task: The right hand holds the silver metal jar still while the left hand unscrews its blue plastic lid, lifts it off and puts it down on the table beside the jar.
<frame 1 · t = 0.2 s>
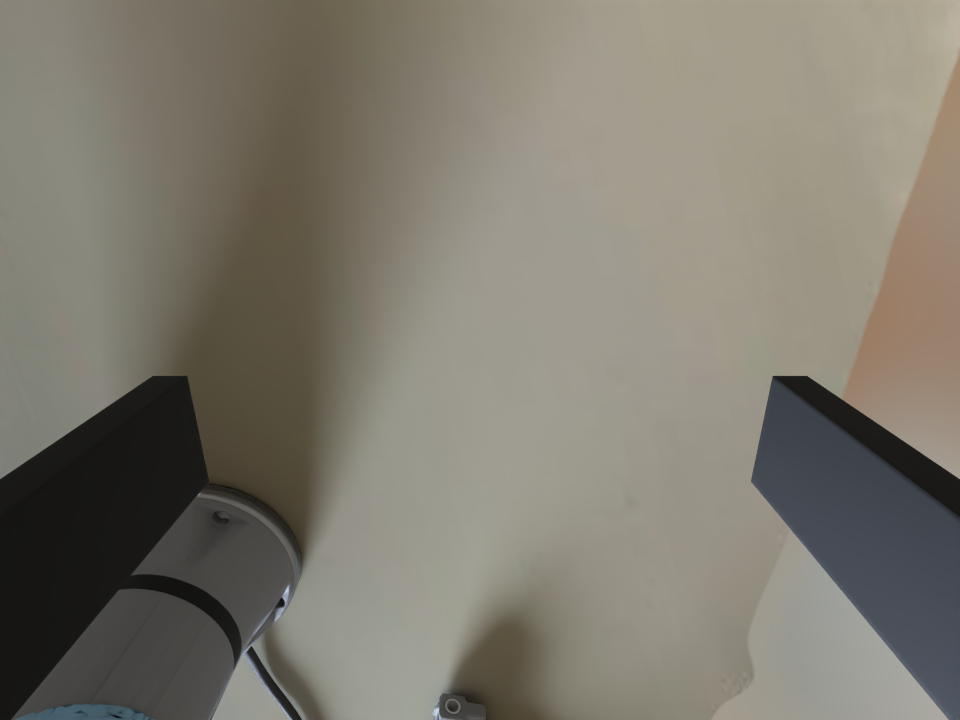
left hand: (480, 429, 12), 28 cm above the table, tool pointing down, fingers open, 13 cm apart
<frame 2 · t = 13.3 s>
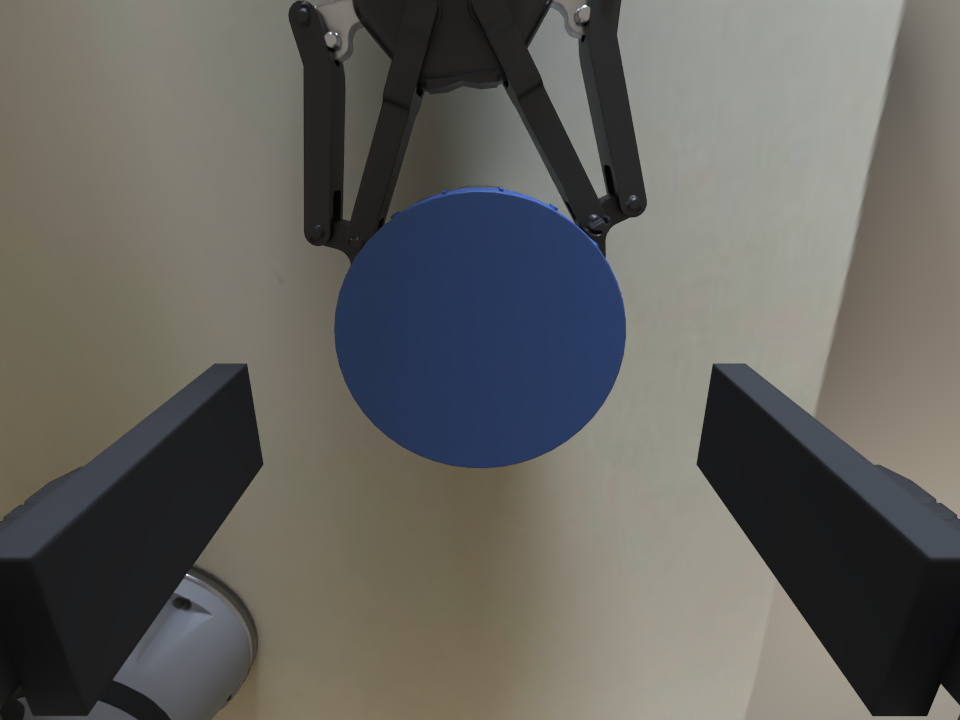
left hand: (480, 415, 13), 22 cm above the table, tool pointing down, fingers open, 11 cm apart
right hand: (487, 366, 29), fingers closed on jar, 8 cm apart
lid: (480, 339, 18), point 16 cm above the table, screwed on, not yet turned
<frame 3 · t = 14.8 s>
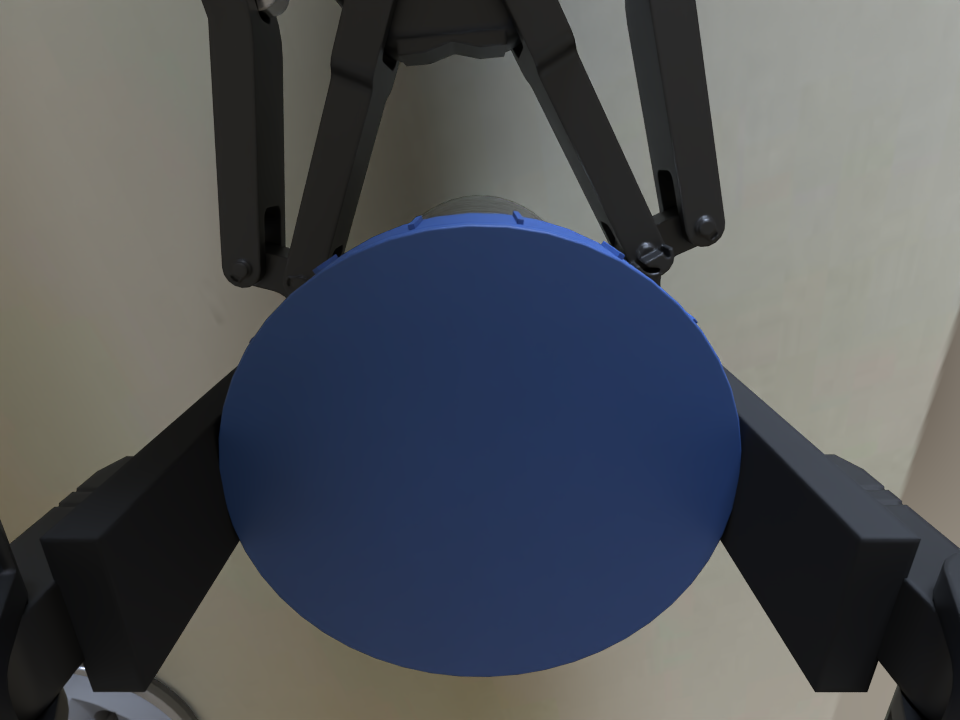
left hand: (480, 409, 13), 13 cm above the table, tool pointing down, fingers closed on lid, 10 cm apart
jar: (479, 289, 25), on the table, touching right hand
lid: (479, 478, 11), point 16 cm above the table, screwed on, not yet turned, touching left hand
when the left hand's fingers open (13 cm above the table, at t = 16.4 s): lid stays where it is, point 16 cm above the table.
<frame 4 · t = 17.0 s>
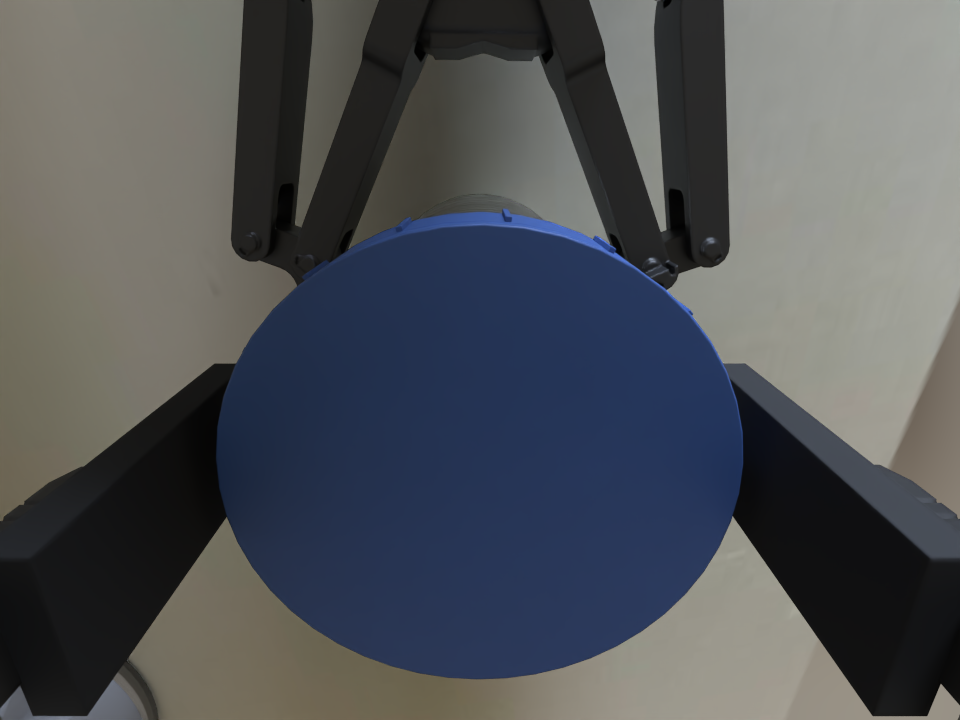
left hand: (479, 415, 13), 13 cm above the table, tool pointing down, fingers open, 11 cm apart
jar: (479, 287, 26), on the table, touching right hand
lid: (479, 480, 10), point 16 cm above the table, turned 93° so far, risen 0.3 cm, still on its thread
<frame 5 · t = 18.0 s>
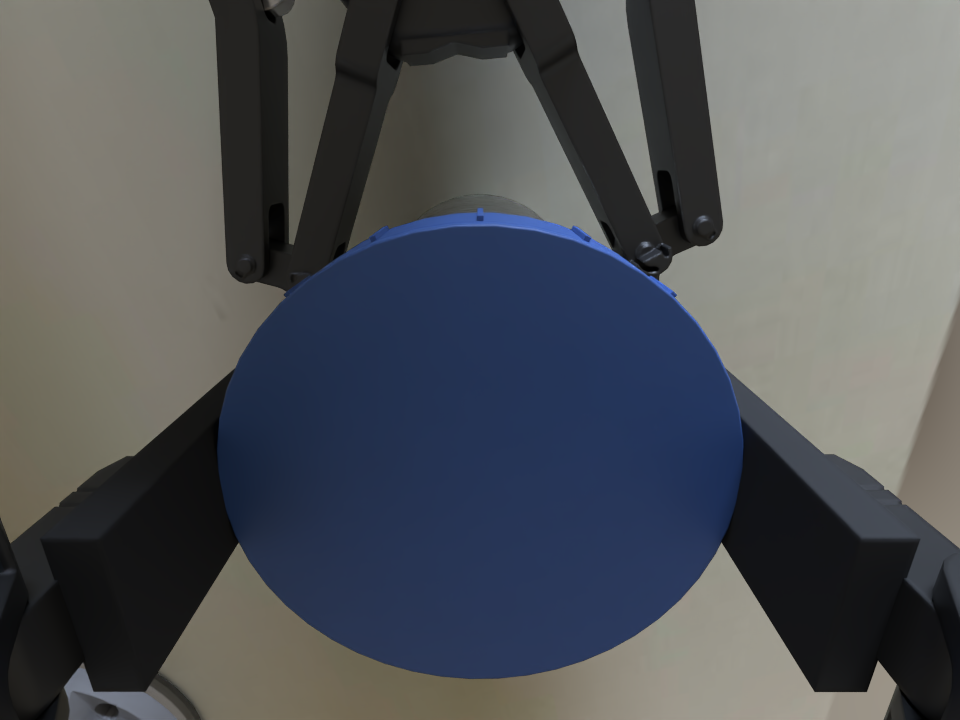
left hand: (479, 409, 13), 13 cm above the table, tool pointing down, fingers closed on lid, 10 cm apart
jar: (480, 287, 26), on the table, touching right hand
lid: (480, 480, 10), point 16 cm above the table, turned 93° so far, risen 0.3 cm, still on its thread, touching left hand
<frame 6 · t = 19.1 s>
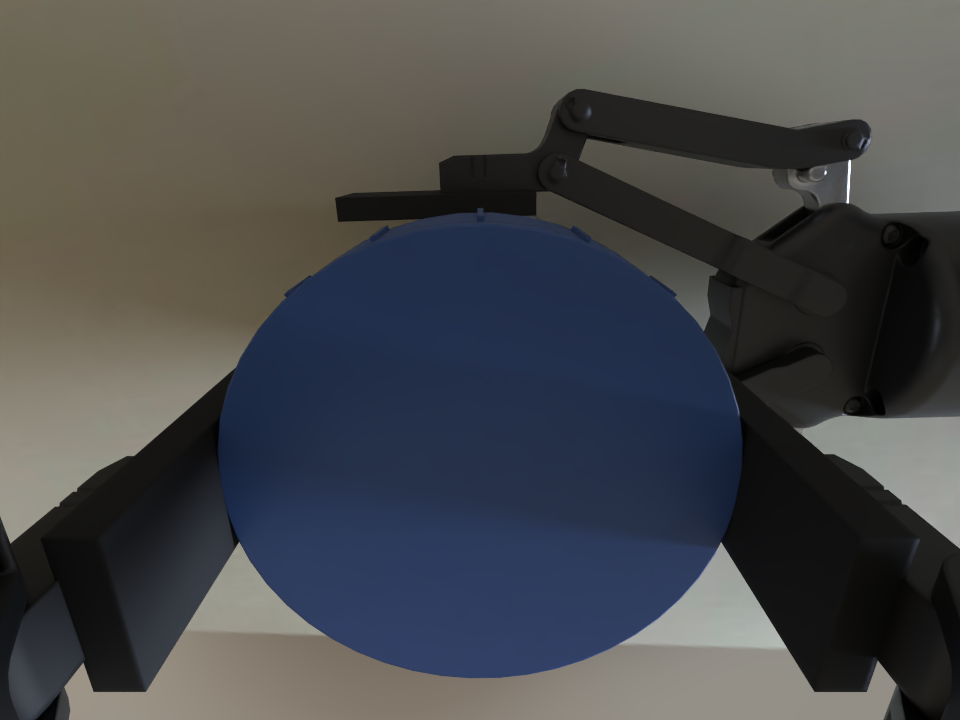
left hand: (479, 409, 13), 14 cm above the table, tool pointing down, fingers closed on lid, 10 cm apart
lid: (480, 479, 10), point 17 cm above the table, off its thread, touching left hand
when the left hand's fingers open (0 cm above the table, at t = 24.0 s): lid drops 2 cm, point 2 cm above the table.
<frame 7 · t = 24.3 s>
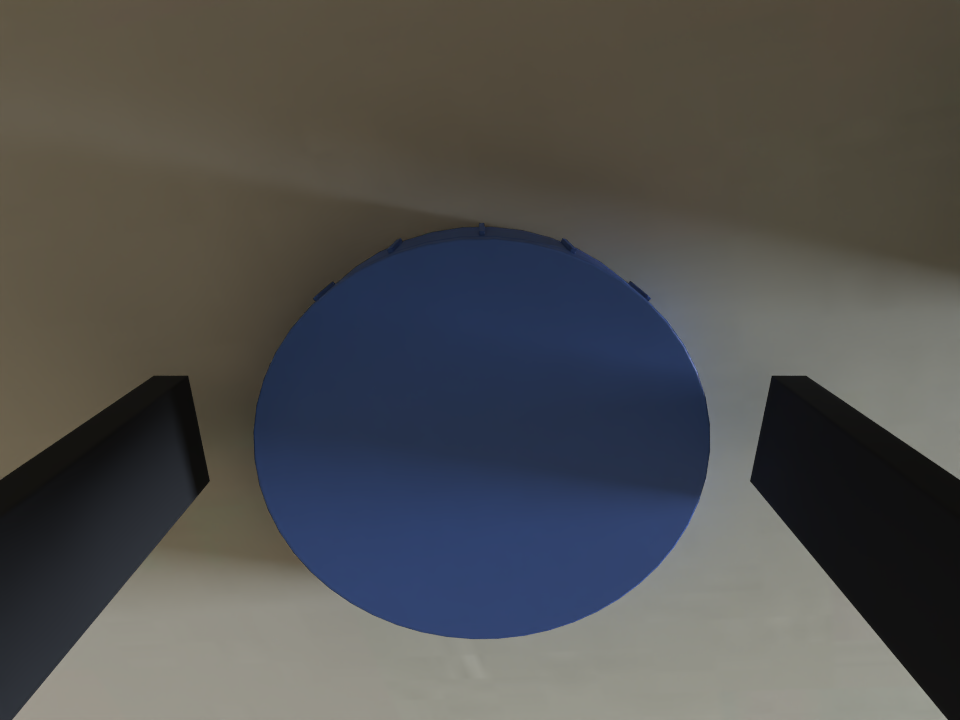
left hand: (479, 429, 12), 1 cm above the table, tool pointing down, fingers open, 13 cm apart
lid: (481, 460, 12), point 2 cm above the table, off its thread
when the right hand's fingers open (7 cm above the table, at t = 25.0 s): jar stays where it is, on the table.
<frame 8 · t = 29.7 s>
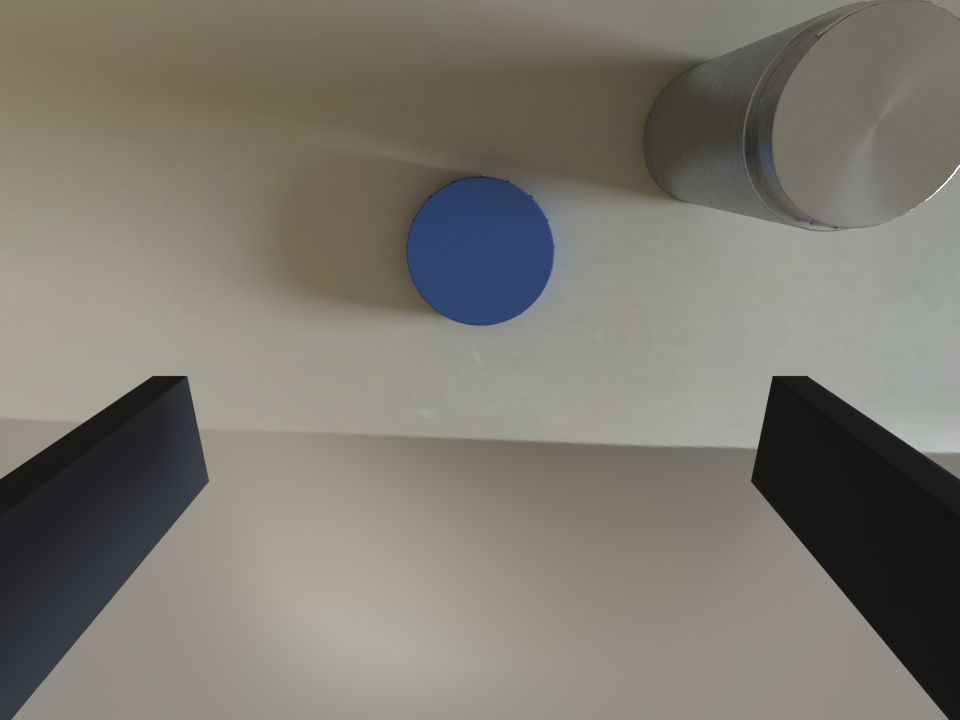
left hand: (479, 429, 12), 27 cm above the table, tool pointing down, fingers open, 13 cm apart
jar: (709, 135, 35), on the table
lid: (480, 254, 36), point 2 cm above the table, off its thread
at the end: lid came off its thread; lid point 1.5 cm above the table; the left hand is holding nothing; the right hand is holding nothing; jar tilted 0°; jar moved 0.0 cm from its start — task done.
